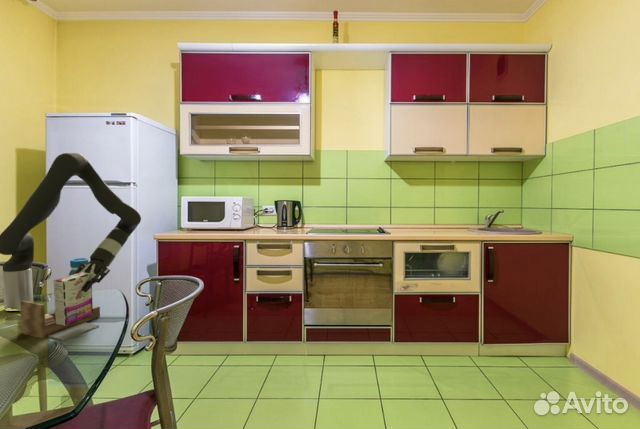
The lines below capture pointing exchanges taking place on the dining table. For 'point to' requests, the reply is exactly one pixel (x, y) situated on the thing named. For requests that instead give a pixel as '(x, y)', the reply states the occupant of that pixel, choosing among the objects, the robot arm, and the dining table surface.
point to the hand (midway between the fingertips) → (78, 289)
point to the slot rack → (36, 320)
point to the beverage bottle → (77, 264)
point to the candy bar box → (72, 299)
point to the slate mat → (73, 331)
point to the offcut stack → (48, 319)
